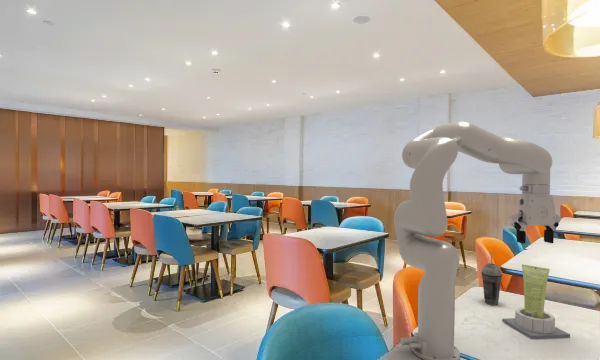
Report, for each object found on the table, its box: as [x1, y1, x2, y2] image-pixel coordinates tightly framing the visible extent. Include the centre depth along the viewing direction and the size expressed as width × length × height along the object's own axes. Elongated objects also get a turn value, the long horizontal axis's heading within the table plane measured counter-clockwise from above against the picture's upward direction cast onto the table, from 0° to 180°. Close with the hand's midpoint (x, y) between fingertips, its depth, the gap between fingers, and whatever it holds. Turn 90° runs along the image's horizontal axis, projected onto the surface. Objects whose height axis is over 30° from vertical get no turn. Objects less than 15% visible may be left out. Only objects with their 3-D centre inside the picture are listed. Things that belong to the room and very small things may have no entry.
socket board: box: [501, 307, 571, 340], centre depth 113 cm, size 13×13×5 cm
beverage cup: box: [481, 251, 503, 306], centre depth 136 cm, size 7×7×20 cm
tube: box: [521, 263, 550, 319], centre depth 113 cm, size 6×5×20 cm
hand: (534, 242), depth 113 cm, fingers open, 9 cm apart
